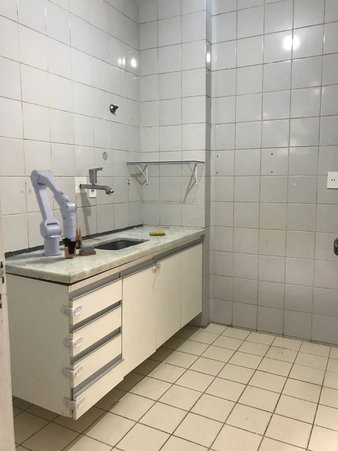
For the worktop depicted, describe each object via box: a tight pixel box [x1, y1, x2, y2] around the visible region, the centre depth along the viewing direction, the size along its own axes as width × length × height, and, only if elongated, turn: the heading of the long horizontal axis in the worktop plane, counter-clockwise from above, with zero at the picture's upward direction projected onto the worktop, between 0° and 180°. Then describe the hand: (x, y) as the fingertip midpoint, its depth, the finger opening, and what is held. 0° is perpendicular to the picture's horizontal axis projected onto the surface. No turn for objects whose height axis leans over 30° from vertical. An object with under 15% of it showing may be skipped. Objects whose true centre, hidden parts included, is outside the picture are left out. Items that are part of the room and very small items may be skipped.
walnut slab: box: [78, 249, 97, 257], centre depth 196 cm, size 7×7×2 cm
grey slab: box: [80, 244, 95, 252], centre depth 196 cm, size 6×6×2 cm
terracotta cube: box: [63, 246, 77, 259], centre depth 188 cm, size 4×4×4 cm
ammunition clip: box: [63, 227, 83, 250], centre depth 212 cm, size 11×2×12 cm, turn 74°
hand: (70, 253), depth 188 cm, fingers closed on terracotta cube, 4 cm apart
